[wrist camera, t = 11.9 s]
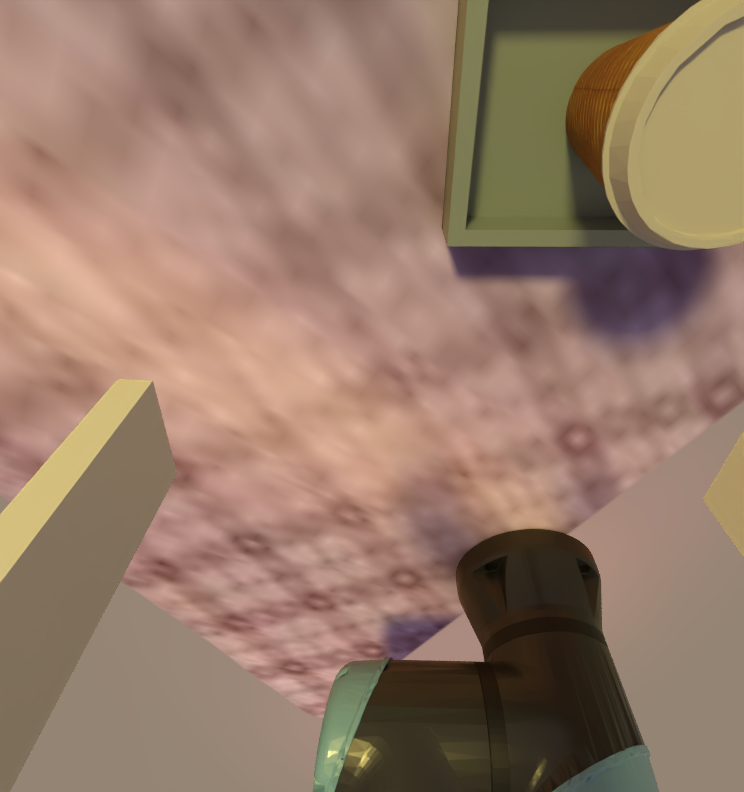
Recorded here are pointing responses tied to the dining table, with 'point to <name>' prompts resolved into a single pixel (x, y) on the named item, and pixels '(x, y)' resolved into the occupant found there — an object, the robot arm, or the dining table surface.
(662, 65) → the disposable coffee cup
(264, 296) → the dining table surface
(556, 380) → the dining table surface
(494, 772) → the robot arm
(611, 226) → the bin
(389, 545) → the dining table surface
